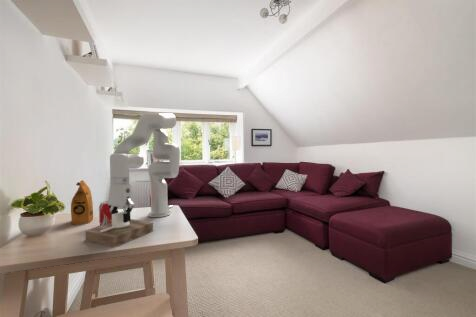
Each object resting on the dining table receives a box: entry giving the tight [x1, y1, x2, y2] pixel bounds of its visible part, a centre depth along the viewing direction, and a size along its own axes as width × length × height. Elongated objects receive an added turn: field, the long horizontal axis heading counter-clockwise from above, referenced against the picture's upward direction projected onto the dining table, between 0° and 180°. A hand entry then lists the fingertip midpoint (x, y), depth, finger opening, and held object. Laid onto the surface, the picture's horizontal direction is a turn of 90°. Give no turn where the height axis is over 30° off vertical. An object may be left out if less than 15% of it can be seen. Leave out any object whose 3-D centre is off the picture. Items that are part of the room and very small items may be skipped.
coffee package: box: [70, 179, 94, 226], centre depth 124 cm, size 10×12×22 cm
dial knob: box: [100, 211, 130, 232], centre depth 100 cm, size 13×7×6 cm, turn 155°
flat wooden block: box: [85, 218, 154, 248], centre depth 103 cm, size 20×18×4 cm
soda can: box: [98, 200, 112, 227], centre depth 117 cm, size 7×7×12 cm
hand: (120, 220), depth 102 cm, fingers open, 7 cm apart
